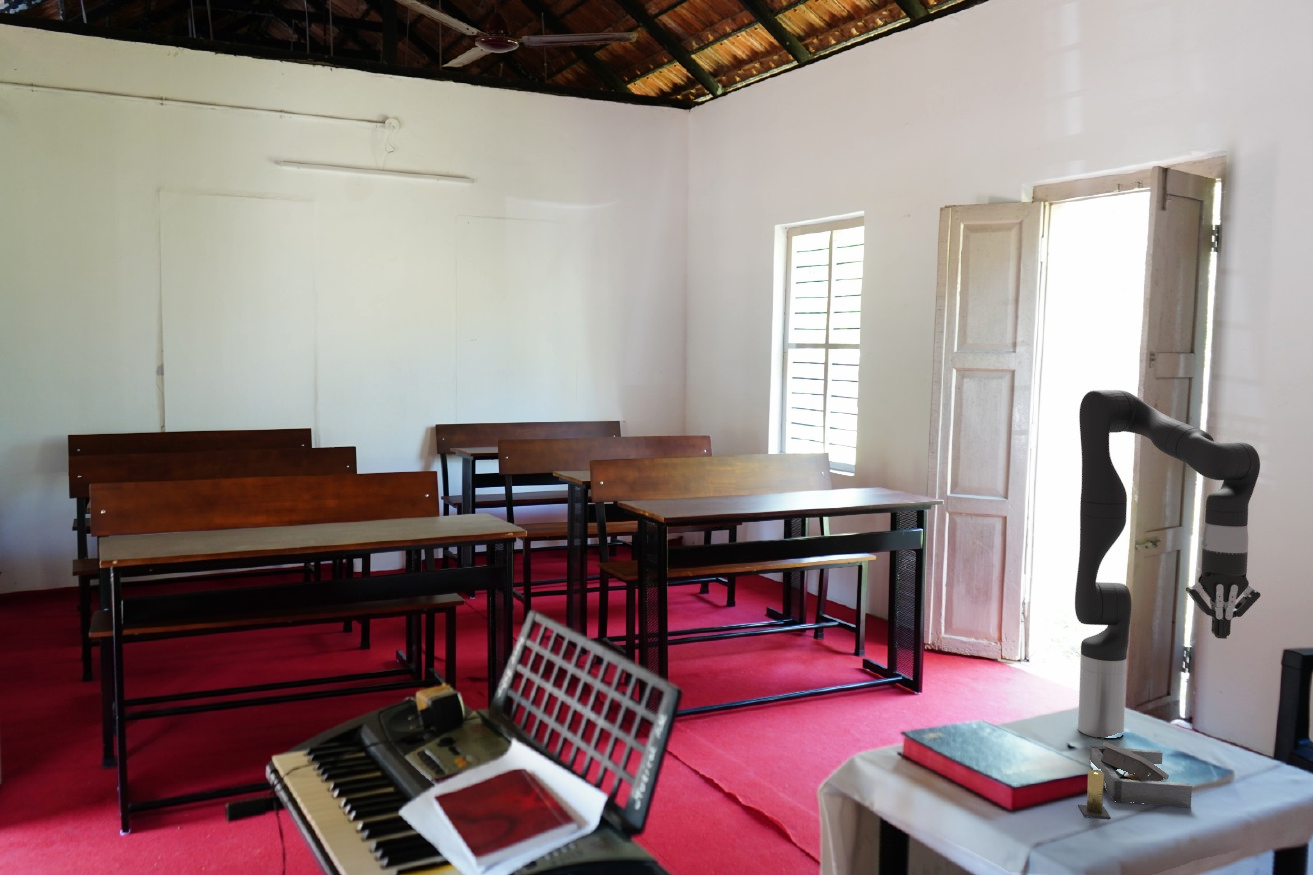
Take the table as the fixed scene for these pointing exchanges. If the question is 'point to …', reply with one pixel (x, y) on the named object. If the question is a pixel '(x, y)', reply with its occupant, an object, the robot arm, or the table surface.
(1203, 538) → the robot arm
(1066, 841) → the table surface
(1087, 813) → the pad
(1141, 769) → the electrical switch
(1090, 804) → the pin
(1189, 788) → the bracket
